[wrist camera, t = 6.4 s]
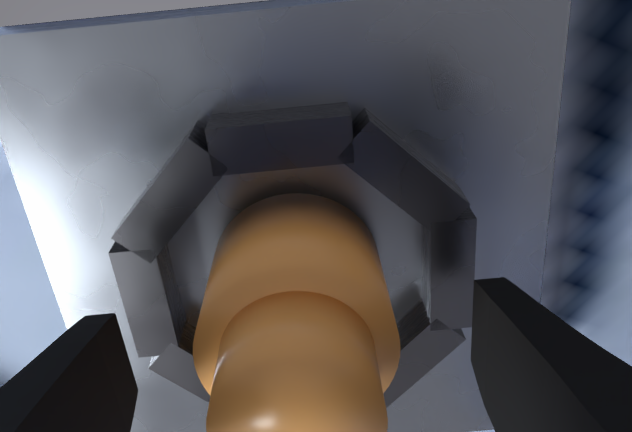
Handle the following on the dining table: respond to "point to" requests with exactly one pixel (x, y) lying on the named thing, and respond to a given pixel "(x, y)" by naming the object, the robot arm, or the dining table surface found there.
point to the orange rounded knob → (296, 322)
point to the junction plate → (289, 166)
